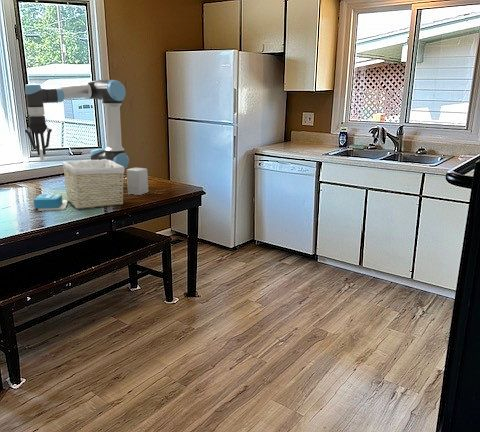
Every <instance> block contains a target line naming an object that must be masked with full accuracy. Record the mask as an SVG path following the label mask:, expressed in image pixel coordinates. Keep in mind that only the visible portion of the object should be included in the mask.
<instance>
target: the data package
mask: <svg viewBox="0 0 480 432" xmlns="http://www.w3.org/2000/svg"><path fill="white" fill-rule="evenodd" d="M62 200H63V194H61V193H53V194H52V193H51V194H45V193H44V194H38V195H37V196H36V197H34V199H33V206H34V208H35V209H39V208H58V207H59V206H60V205H61V204H62V203H63V201H62Z"/></svg>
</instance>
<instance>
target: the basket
mask: <svg viewBox="0 0 480 432" xmlns="http://www.w3.org/2000/svg"><path fill="white" fill-rule="evenodd" d="M62 167H63V173H64V182H65V183H64V186H65V195H66V197H65V200H68V202H69V203H70V204H72V206H73V207H75V208H76V209H86V208H96V207H107V206H108V207H110V206H116V205H118V206H119V205H123V204H124V173H125V170H124V167H123V166H121V165H119V164H117V163H115V162H114V161H111V160H107V159H102V160H91V159H88V160H76V161H74V160H73V161H62Z"/></svg>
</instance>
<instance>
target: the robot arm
mask: <svg viewBox="0 0 480 432" xmlns="http://www.w3.org/2000/svg"><path fill="white" fill-rule="evenodd" d="M24 90H25V91H24V93H25V97H26V105H27V112H28V113H27V114H28V115H29V117H28V119H29V121H28V122H29V127H28V128H27V129H25V130H24V132H25V133H26V134H27V137H28V139H29V141H30V143H31V146H32V148H33V149H36V151H37V155H38V156H39V159H40V162H41V163H42V162H45V155H46V149H47V148H49V146H50V138H51V133H52V131H53V129H52V128H50V127H48V125H47V123H46V116H45V106H44V104H50V103H51V104H52V103H53V104H55V103H56V104H58V103H63V102H64V100H70V99H82V98H83V99H86V100H88V99H89V100H98V101H99V100H101V104H102V105H103V106H104V113H105V117H104V118H105V130H106V131H105V132H106V148H97V149H93V150H92V149H91V151H90V157H89V158H90V160H102V159H107V160H111V161H114V162H115V163H117V164H119V165H121V166H123V167H124V171H125V170H127V168H128V167H129V163H130V158H129V156H128V155H127V153H125V148H124V146H122V128H121V126H122V125H121V108H120V107H121V106H122V105H123V101H124V100H125V98H126V93H127V92H126V87H125V85H124V84H123V83H122V82H121V81H119V80H116V79H97V80H92V81H85V82H82V83H81V84H79V83H78V84H70V85H69V84H67V85H52V86H42V85H41V84H40V83H28V84H25V86H24ZM31 132H32V133H33V134H34V136H35V137H33V135H32V133H31ZM45 132H46V133H47V134H46V139H45V136H44V133H45ZM39 135H40V139H39ZM34 138H35V140H34ZM45 140H46V142H45ZM40 141H41V145H40ZM40 146H41V147H40Z"/></svg>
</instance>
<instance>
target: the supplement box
mask: <svg viewBox="0 0 480 432" xmlns="http://www.w3.org/2000/svg"><path fill="white" fill-rule="evenodd" d="M125 170H126V183H127V186H126V187H127V195H130V194H134V195H133V196H137V195H141V194H144V193H147V192H149V175H148V168H145V167H144V168H143V167H131V168H128V169H127V168H126V169H125ZM147 194H148V193H147ZM144 195H145V194H144ZM141 196H142V195H141Z"/></svg>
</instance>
